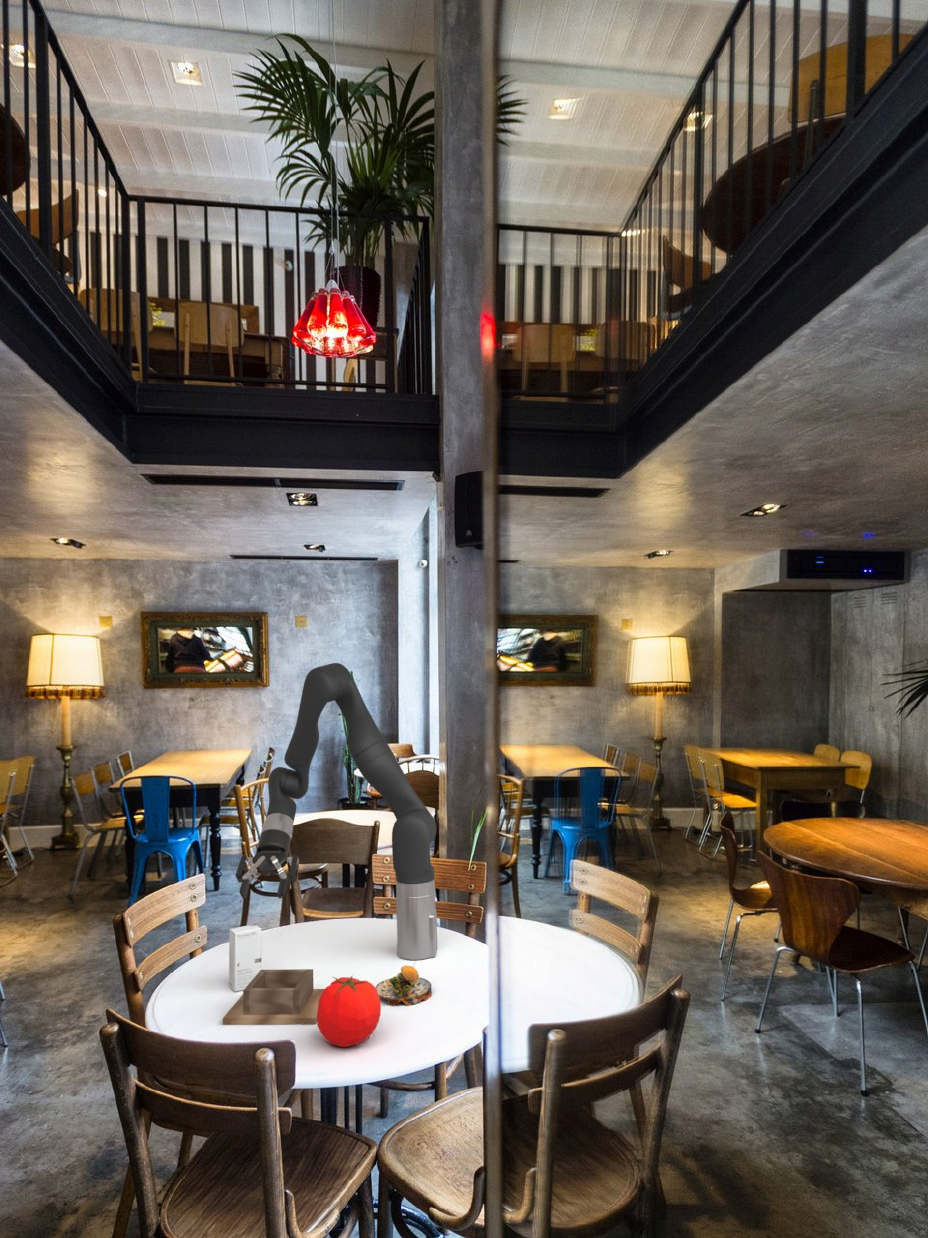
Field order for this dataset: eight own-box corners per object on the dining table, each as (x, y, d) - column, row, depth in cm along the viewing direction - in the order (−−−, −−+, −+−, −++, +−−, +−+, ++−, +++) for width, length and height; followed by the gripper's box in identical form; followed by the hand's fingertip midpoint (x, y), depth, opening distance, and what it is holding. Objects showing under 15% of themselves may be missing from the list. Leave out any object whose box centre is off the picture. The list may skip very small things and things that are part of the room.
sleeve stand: (332, 994, 162) (331, 966, 163) (315, 1024, 148) (315, 993, 149) (246, 995, 163) (246, 967, 164) (222, 1024, 149) (222, 994, 150)
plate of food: (395, 981, 170) (395, 945, 170) (442, 990, 164) (442, 953, 165) (363, 1001, 159) (362, 964, 160) (412, 1012, 153) (411, 973, 154)
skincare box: (234, 993, 165) (234, 934, 166) (228, 986, 169) (227, 928, 169) (262, 986, 168) (262, 928, 169) (256, 979, 172) (255, 923, 173)
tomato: (313, 1033, 145) (312, 971, 146) (374, 1023, 148) (373, 962, 149) (322, 1062, 134) (321, 994, 134) (387, 1050, 137) (386, 985, 138)
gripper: (243, 828, 191) (227, 888, 179) (301, 827, 190) (288, 888, 178) (251, 845, 196) (235, 905, 184) (307, 845, 195) (295, 905, 183)
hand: (261, 897), depth 181 cm, fingers open, 8 cm apart
